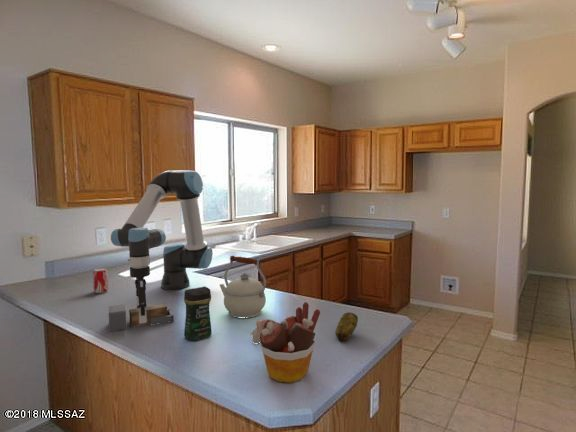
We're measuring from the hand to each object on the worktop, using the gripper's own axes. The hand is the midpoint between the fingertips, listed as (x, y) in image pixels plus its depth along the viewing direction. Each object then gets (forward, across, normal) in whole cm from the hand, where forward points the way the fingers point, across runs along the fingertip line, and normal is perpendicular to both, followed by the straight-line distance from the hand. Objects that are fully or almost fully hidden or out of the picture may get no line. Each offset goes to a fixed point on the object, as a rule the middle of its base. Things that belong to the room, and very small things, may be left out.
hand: (141, 317), depth 154 cm
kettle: (+2, +6, +41) cm, 42 cm away
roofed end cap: (+2, 0, -9) cm, 9 cm away
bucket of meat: (+2, +63, +37) cm, 73 cm away
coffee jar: (+2, +24, +18) cm, 30 cm away
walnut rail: (+2, 0, +3) cm, 4 cm away
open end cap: (+2, 0, +8) cm, 8 cm away
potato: (+2, +47, +68) cm, 83 cm away
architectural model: (+3, +38, +37) cm, 53 cm away
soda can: (+2, -55, -16) cm, 57 cm away
